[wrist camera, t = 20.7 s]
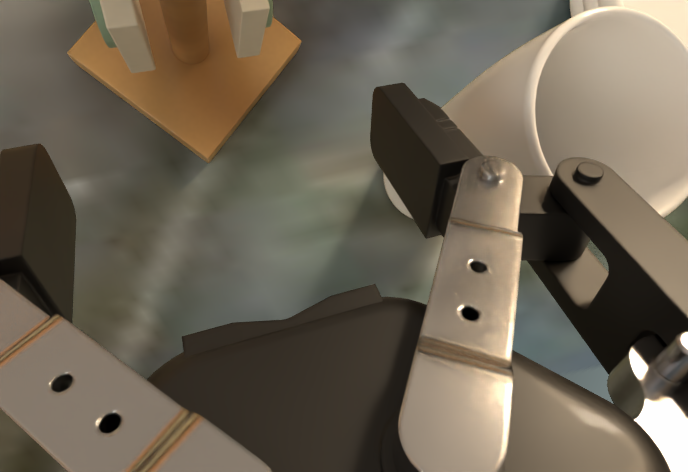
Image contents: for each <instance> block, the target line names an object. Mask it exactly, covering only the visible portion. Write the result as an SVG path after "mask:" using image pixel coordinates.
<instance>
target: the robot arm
mask: <svg viewBox="0 0 688 472" xmlns="http://www.w3.org/2000/svg"><path fill="white" fill-rule="evenodd" d="M370 142H371V149H372V153H373V156H374V158H375V160H376V161H377V163H378V165H379V166H380V168H381V169H382V171H383V172H384V174H385V175H386V177H387V179H388V180H389V182H390V183H391V185H392V186H393V188H394V190H395V191H396V193H397V194H398V196H399V197H400V199H401V200H402V202H403V204H404V205H405V207H406V208H407V210H408V211H409V213H410V214H411V216H412V218H413V219H414V221H415V222H416V224H417V225H418V227H419V228H420V230H421V232H422V233H423V235H424V236H425V238H426V239H427V238H430V237H434V236H438V235H442V236H443V237H444V240H443V244H442V248H441V252H440V256H439V260H438V264H437V268H436V272H435V276H434V280H433V284H432V288H431V292H430V296H429V300H428V304H427V305H425V304H422V303H420V302H416V301H413V300H409V299H403V298H396V297H381V295H380V293H379V291H378V289H377V287H376V285H375V284H373V285H369V286H366V287H362V288H358V289H355V290H351V291H347V292H344V293H340V294H336V295H333V296H330V297H328V298H326V299H324V300H322V301H321V302H319V303H317V304H315V305H313V306H311V307H309V308H307V309H306V310H304V311H302V312H300V313H298V314H296V315H294V316H292V317H290V318H288V319H285V320H272V321H255V322H237V323H230V324H226V325H223V326H219V327H215V328H212V329H208V330H204V331H201V332H197V333H193V334H190V335H186V336H182V342H183V349H184V352H183V353H181V354H179V355H177V356H176V357H174V358H173V359H171V360H170V361H168V362H167V363H165V364H164V365H163V366H161V367H160V368H159V369H158V370H156V371H155V372H154V373H153V374H152V375H151V376H150V377H149V378H148V379H147V380H146V379H145V378H143V377H142V376H141V375H139V374H138V373H137V372H135V371H134V370H133V369H131V368H130V367H129V366H127V365H126V364H125V363H123V362H122V361H121V360H119V359H118V358H117V357H115V356H114V355H113V354H111V353H110V352H109V351H107V350H106V349H105V348H103V347H102V346H101V345H99V344H98V343H97V342H95V341H94V340H93V339H91V338H90V337H89V336H87V335H86V334H85V333H84V332H82V331H81V330H80V329H78V328H77V327H76V326H74V325H73V324H72V313H73V288H74V263H75V238H76V214H75V209H74V206H73V203H72V200H71V197H70V195H69V193H68V191H67V189H66V187H65V185H64V183H63V182H62V180H61V178H60V176H59V174H58V172H57V170H56V168H55V166H54V164H53V162H52V160H51V158H50V156H49V155H48V153H47V151H46V149H45V148H44V147H43V145H41V144H33V145H27V146H21V147H16V148H10V149H4V150H2V151H1V154H0V408H1V409H2V410H3V411H4V412H5V413H6V414H7V415H8V416H9V417H10V418H11V419H12V420H14V421H15V422H16V423H17V424H18V425H19V426H20V427H21V428H22V429H23V430H24V431H25V432H26V433H27V434H28V435H30V436H31V437H32V438H33V439H34V440H35V441H36V442H37V443H38V444H39V445H40V446H41V447H42V448H43V449H44V450H46V451H47V452H48V453H49V454H50V455H51V456H52V457H53V458H54V459H55V460H56V461H57V462H58V463H59V464H60V465H62V466H63V467H64V468H65V469H66V470H67V471H68V472H688V241H687V240H686V239H685V238H684V237H683V236H682V235H681V234H680V233H679V232H678V231H677V230H676V229H675V228H674V227H673V226H671V225H670V224H669V223H668V222H667V221H666V220H665V219H664V218H663V217H662V216H661V215H660V214H659V213H658V212H657V211H656V210H655V209H654V208H652V207H651V206H650V205H649V204H648V203H647V202H646V201H645V200H644V199H643V198H642V197H641V196H640V195H639V194H638V193H637V192H636V191H635V190H633V189H632V188H631V187H630V186H629V185H628V184H627V183H626V182H625V181H624V180H623V179H622V178H621V177H620V176H619V175H618V174H617V173H616V172H614V171H613V170H612V169H611V168H610V167H608V166H607V165H605V164H603V163H601V162H599V161H596V160H593V159H589V158H582V157H573V158H568V159H565V160H563V161H561V162H560V163H559V164H558V166H557V168H556V171H555V173H554V176H537V175H522V173H521V171H520V170H519V168H518V167H517V166H515V165H514V164H513V163H511V162H509V161H507V160H505V159H502V158H499V157H495V156H483V154H482V153H481V152H480V151H479V150H478V149H477V148H476V147H475V146H474V144H473V143H472V142H471V141H470V140H469V139H468V138H467V137H466V136H465V134H464V133H463V132H462V131H461V130H460V129H458V128H457V125H456V124H455V123H454V122H453V121H452V120H450V119H449V117H448V115H447V114H446V113H445V112H444V111H443V110H442V109H441V108H440V107H439V106H437V105H436V104H434V103H432V102H430V101H428V100H426V99H425V98H421V99H418V98H417V97H416V96H415V95H414V94H413V92H412V91H411V90H410V89H409V88H408V87H407V86H406V84H404V83H398V84H392V85H386V86H380V87H376V88H375V89H374V92H373V100H372V117H371V133H370ZM590 240H591V241H592V242H593V243H594V244H595V245H596V246H597V248H598V249H599V250H600V251H601V252H602V253H603V255H604V256H605V258H606V259H607V262H608V266H609V272H608V271H607V270H606V269H605V268H604V266H603V265H602V264H601V263H600V262H599V261H598V259H597V258H596V257H595V256H594V255H593V253H592V252H591V251H590V250H589V249H588V248H587V245H588V243H589V242H590ZM521 260H527V261H528V263H529V264H530V265H531V267H532V268H533V270H534V271H535V272H536V274H537V275H538V277H539V278H540V279H541V281H542V282H543V284H544V285H545V286H546V288H547V289H548V291H549V292H550V293H551V295H552V296H553V298H554V299H555V300H556V302H557V303H558V304H559V306H560V307H561V309H562V310H563V311H564V313H565V314H566V316H567V317H568V318H569V320H570V321H571V323H572V324H573V325H574V327H575V328H576V330H577V331H578V332H579V334H580V335H581V337H582V338H583V339H584V341H585V342H586V344H587V345H588V346H589V348H590V349H591V351H592V352H593V353H594V355H595V356H596V358H597V359H598V360H599V362H600V363H601V365H602V366H603V367H604V369H605V370H606V371H607V373H608V374H609V376H608V380H607V387H608V392H609V394H610V397H611V399H612V401H613V403H614V404H612V403H611V402H609V401H607V400H605V399H603V398H601V397H600V396H598V395H596V394H594V393H592V392H590V391H588V390H587V389H585V388H583V387H581V386H579V385H577V384H575V383H573V382H571V381H570V380H568V379H566V378H564V377H562V376H560V375H558V374H556V373H555V372H553V371H551V370H549V369H547V368H545V367H543V366H541V365H540V364H538V363H536V362H534V361H532V360H530V359H528V358H526V357H525V356H523V355H521V354H519V353H517V352H515V351H513V350H512V347H513V337H514V326H515V316H516V305H517V295H518V284H519V274H520V264H521Z"/></svg>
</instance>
